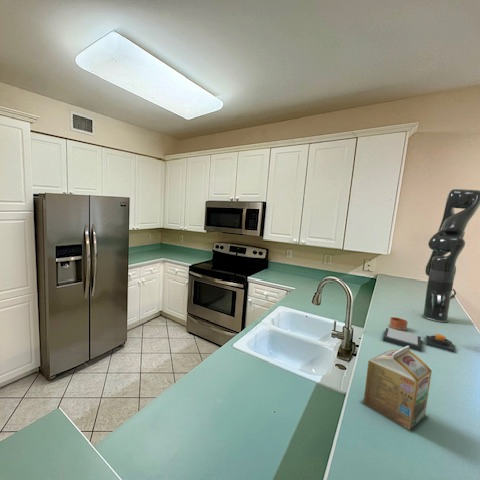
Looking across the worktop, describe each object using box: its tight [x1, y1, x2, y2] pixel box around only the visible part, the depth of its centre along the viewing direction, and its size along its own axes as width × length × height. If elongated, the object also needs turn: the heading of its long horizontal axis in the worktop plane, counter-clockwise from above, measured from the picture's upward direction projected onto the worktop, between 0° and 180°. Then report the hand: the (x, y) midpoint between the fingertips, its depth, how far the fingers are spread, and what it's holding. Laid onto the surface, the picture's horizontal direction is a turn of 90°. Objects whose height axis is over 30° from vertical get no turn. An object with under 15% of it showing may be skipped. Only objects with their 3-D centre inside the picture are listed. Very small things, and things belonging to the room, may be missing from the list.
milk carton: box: [363, 346, 432, 431], centre depth 73 cm, size 11×10×19 cm
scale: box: [382, 327, 422, 352], centre depth 116 cm, size 14×12×3 cm
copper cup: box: [389, 316, 408, 332], centre depth 129 cm, size 6×6×5 cm
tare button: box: [434, 333, 447, 341], centre depth 112 cm, size 3×3×2 cm
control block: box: [425, 335, 455, 353], centre depth 113 cm, size 10×8×3 cm
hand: (435, 316), depth 114 cm, fingers closed
